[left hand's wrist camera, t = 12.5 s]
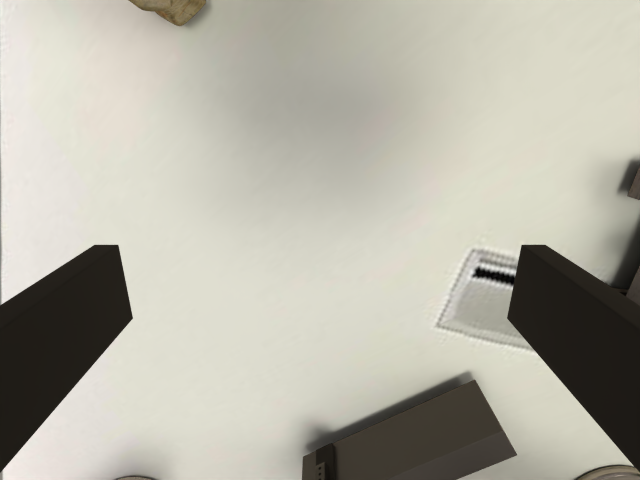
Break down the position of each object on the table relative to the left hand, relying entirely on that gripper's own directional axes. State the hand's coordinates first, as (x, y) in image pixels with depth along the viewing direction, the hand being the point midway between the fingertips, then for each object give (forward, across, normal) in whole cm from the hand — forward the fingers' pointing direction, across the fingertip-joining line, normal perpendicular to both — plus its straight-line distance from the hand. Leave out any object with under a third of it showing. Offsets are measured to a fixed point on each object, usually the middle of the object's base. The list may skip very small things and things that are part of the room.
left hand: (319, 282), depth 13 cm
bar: (+30, +10, -39) cm, 50 cm away
